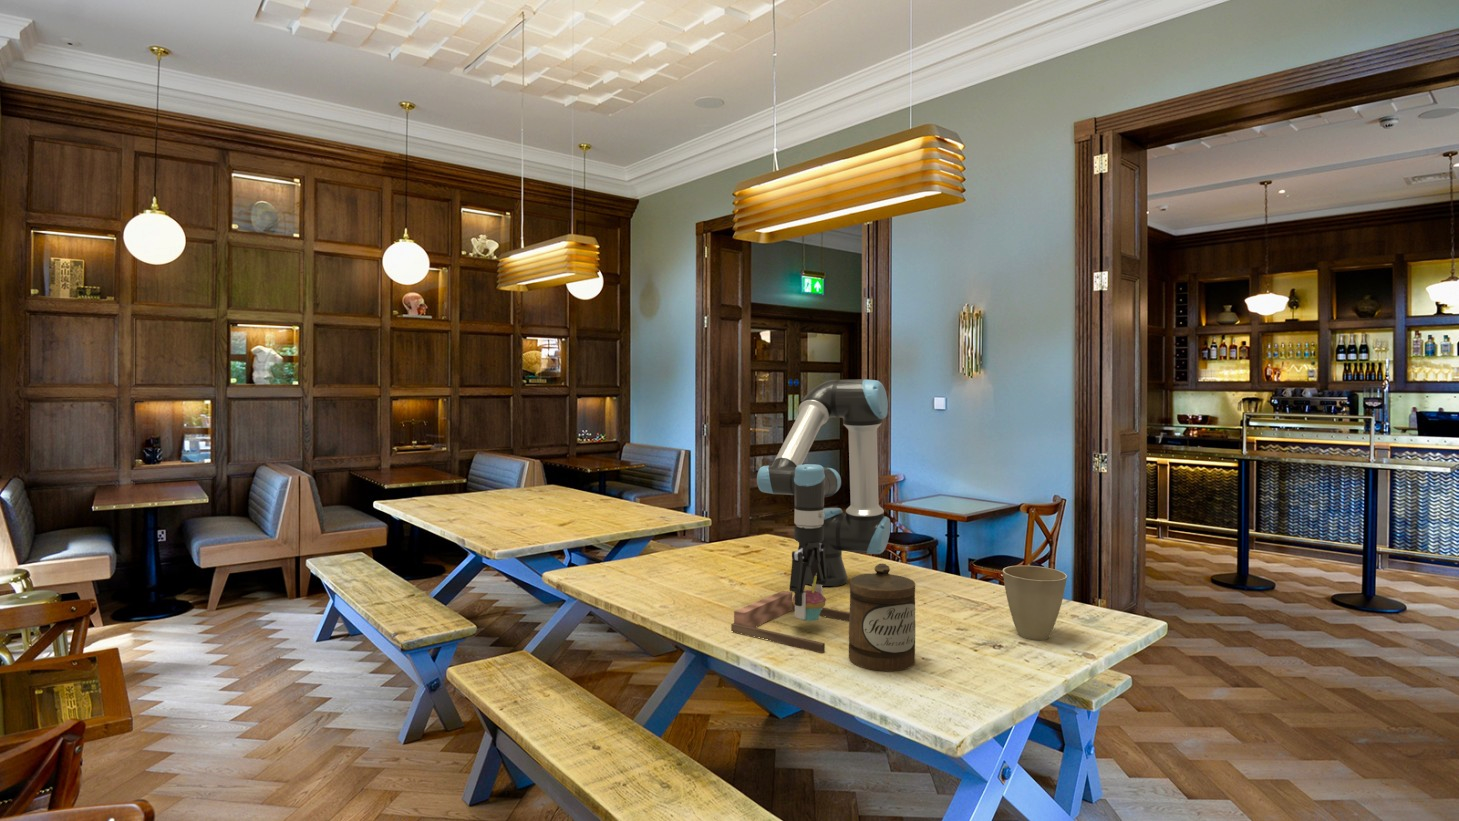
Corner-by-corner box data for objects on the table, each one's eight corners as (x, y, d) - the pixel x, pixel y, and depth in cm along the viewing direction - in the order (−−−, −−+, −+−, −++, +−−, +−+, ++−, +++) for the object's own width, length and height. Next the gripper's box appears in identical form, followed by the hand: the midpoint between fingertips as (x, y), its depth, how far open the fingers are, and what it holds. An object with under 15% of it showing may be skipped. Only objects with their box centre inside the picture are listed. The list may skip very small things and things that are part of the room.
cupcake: (829, 615, 195) (829, 570, 195) (819, 625, 188) (820, 577, 187) (798, 611, 199) (798, 566, 198) (787, 620, 191) (787, 573, 191)
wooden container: (872, 676, 162) (873, 574, 161) (836, 653, 176) (837, 560, 175) (928, 666, 168) (929, 568, 167) (889, 645, 182) (890, 554, 181)
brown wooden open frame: (785, 607, 212) (785, 589, 212) (870, 624, 197) (870, 605, 197) (731, 631, 191) (731, 612, 191) (822, 653, 176) (822, 631, 176)
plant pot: (989, 630, 193) (989, 568, 192) (1033, 623, 199) (1034, 563, 198) (1033, 649, 179) (1034, 582, 179) (1079, 640, 185) (1080, 576, 185)
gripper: (801, 533, 182) (801, 626, 182) (840, 520, 199) (840, 605, 200) (775, 530, 186) (774, 621, 187) (815, 517, 203) (815, 601, 204)
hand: (808, 613), depth 193 cm, fingers closed on cupcake, 8 cm apart
